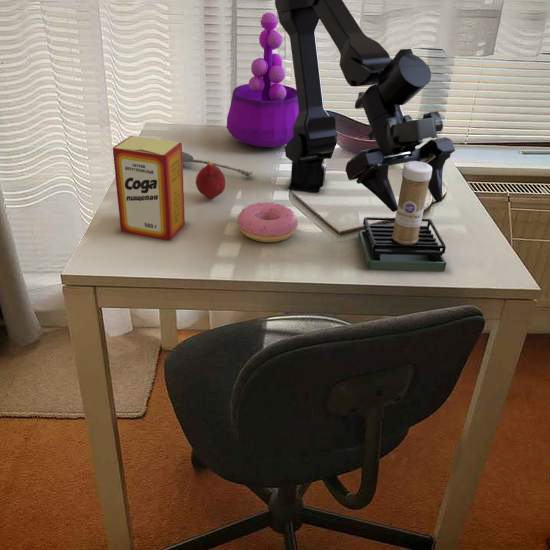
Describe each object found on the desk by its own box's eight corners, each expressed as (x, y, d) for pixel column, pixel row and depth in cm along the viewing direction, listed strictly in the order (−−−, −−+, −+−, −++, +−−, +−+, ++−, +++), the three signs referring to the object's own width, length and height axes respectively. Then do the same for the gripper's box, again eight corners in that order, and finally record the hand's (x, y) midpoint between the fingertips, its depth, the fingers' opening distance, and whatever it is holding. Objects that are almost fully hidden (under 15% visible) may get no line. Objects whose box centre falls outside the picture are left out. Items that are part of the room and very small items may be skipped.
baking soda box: (121, 231, 108) (112, 145, 100) (137, 216, 114) (130, 133, 105) (170, 240, 106) (165, 153, 98) (184, 224, 112) (181, 140, 103)
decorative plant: (221, 131, 157) (221, 5, 141) (290, 128, 161) (298, 6, 145) (234, 157, 141) (236, 19, 125) (311, 154, 145) (321, 20, 130)
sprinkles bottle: (392, 244, 102) (405, 169, 95) (390, 232, 106) (402, 159, 99) (420, 247, 102) (434, 171, 95) (416, 234, 106) (430, 161, 99)
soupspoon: (169, 159, 141) (154, 169, 136) (167, 145, 139) (152, 155, 134) (256, 173, 134) (244, 185, 129) (256, 158, 132) (244, 170, 127)
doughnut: (308, 237, 110) (310, 216, 107) (256, 251, 104) (257, 230, 102) (276, 213, 117) (277, 193, 115) (226, 225, 112) (226, 205, 110)
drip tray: (367, 269, 101) (368, 261, 100) (357, 238, 110) (358, 230, 110) (444, 271, 102) (446, 263, 101) (428, 239, 111) (429, 231, 110)
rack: (370, 266, 101) (373, 244, 99) (361, 237, 110) (363, 217, 108) (441, 267, 102) (446, 246, 100) (426, 238, 110) (430, 218, 108)
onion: (230, 197, 123) (230, 159, 119) (216, 207, 118) (216, 169, 114) (205, 191, 125) (205, 153, 121) (190, 201, 120) (189, 163, 116)
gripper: (364, 100, 90) (399, 197, 88) (459, 88, 98) (493, 177, 96) (330, 134, 100) (361, 222, 98) (419, 122, 108) (449, 203, 106)
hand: (418, 206), depth 99 cm, fingers open, 9 cm apart
